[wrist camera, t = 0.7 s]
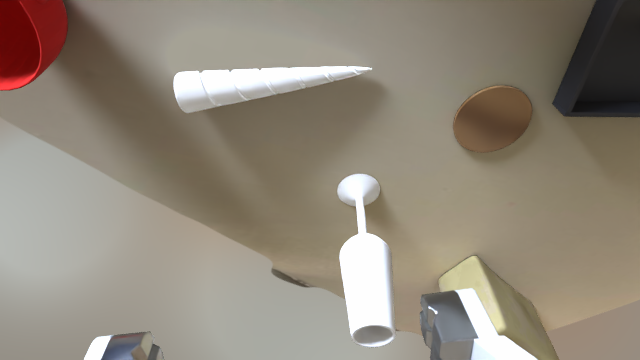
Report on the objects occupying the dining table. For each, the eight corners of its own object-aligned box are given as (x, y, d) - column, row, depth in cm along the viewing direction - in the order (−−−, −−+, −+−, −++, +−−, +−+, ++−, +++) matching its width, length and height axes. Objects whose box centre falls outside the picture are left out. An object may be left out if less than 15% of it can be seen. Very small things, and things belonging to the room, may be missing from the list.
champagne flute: (329, 198, 61) (331, 343, 42) (349, 167, 57) (360, 312, 39) (367, 211, 63) (384, 356, 44) (388, 182, 59) (417, 328, 40)
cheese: (550, 294, 76) (591, 370, 65) (510, 316, 81) (541, 391, 70) (474, 251, 69) (505, 329, 57) (434, 278, 74) (455, 356, 62)
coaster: (469, 80, 48) (471, 81, 48) (545, 91, 49) (546, 92, 49) (442, 145, 55) (443, 147, 54) (509, 154, 55) (511, 156, 55)
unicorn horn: (370, 95, 50) (374, 113, 46) (188, 100, 51) (177, 119, 47) (372, 59, 47) (376, 76, 43) (178, 65, 48) (166, 82, 44)
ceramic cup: (144, 24, 45) (106, 57, 37) (28, 67, 48) (-30, 106, 40) (65, -110, 37) (-4, -103, 29) (-67, -46, 40) (-161, -25, 32)
